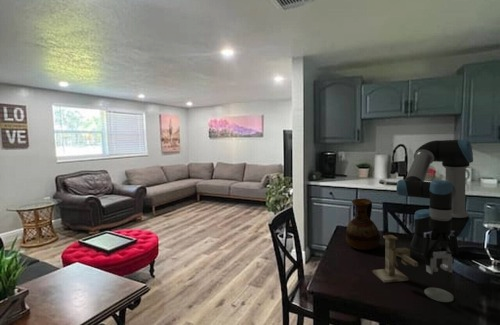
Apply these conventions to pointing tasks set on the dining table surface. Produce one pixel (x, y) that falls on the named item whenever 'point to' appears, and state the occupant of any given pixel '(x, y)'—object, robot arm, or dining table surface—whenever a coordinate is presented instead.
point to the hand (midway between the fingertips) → (439, 271)
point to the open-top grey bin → (445, 260)
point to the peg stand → (391, 272)
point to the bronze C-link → (398, 251)
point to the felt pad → (439, 294)
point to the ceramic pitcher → (362, 227)
